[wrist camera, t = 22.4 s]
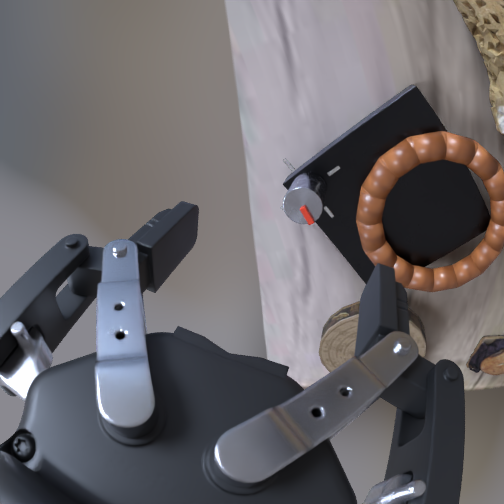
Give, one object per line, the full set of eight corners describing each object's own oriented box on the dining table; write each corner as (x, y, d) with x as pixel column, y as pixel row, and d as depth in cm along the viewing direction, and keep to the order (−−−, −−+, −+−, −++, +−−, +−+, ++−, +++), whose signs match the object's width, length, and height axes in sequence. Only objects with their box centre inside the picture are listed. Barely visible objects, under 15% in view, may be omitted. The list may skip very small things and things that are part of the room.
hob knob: (285, 180, 31) (274, 199, 27) (315, 165, 29) (309, 182, 25) (303, 209, 32) (294, 231, 28) (333, 196, 30) (329, 216, 27)
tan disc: (432, 299, 36) (435, 314, 33) (414, 370, 44) (415, 385, 41) (318, 298, 41) (315, 313, 39) (323, 368, 49) (320, 382, 47)
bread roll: (530, 334, 33) (536, 351, 30) (508, 367, 37) (512, 383, 34) (483, 332, 36) (488, 351, 33) (463, 367, 40) (465, 384, 37)
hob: (398, 69, 23) (403, 68, 21) (487, 215, 28) (494, 226, 25) (263, 173, 34) (256, 181, 32) (361, 287, 38) (360, 301, 36)
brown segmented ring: (459, 97, 21) (469, 99, 19) (523, 235, 24) (532, 247, 22) (323, 192, 31) (320, 203, 29) (406, 303, 34) (408, 318, 32)
